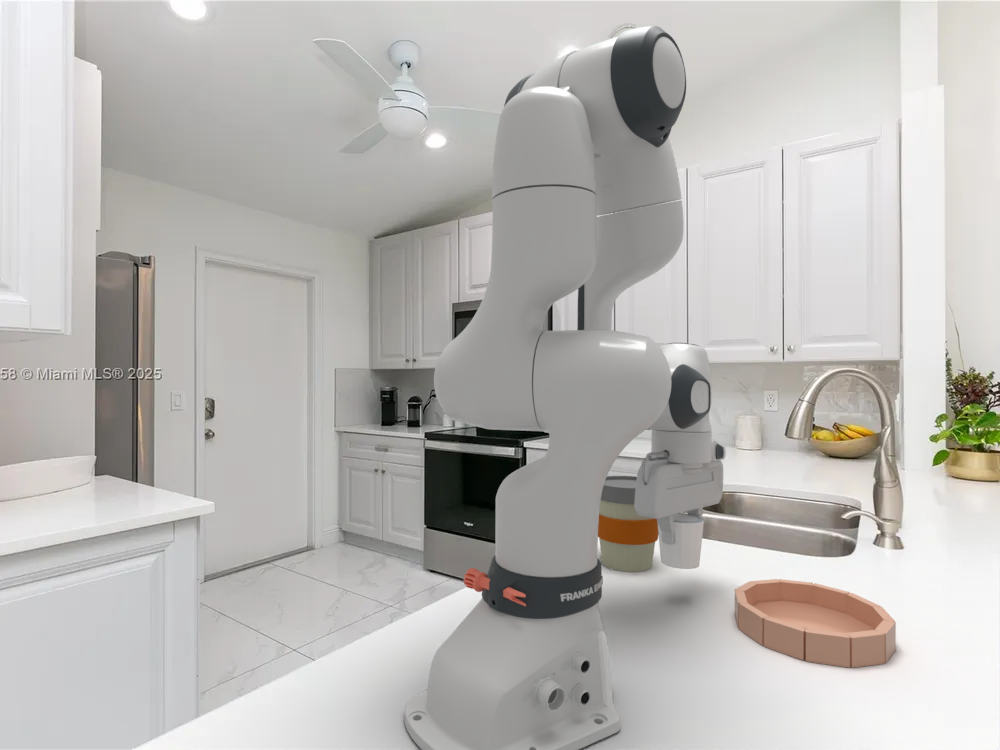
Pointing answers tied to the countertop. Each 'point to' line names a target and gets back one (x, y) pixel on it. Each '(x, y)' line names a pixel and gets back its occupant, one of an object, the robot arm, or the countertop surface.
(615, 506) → the reusable coffee cup
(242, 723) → the countertop surface
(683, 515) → the white tapered cup
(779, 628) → the terracotta round tray
